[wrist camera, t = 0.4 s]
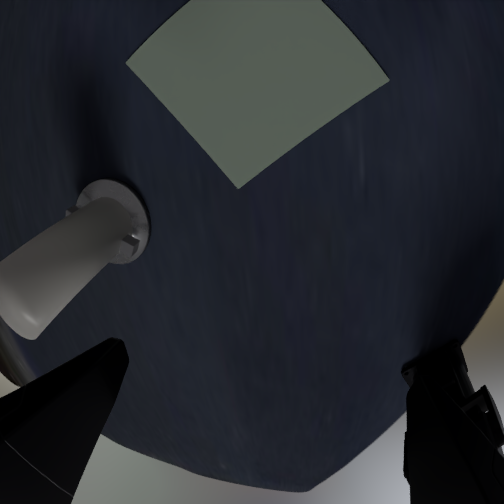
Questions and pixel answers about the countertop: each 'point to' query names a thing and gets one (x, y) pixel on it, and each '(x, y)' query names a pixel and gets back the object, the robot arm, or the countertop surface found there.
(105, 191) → the grey shallow disc
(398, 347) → the countertop surface
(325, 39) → the mat
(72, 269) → the grey rounded post
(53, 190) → the countertop surface
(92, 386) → the robot arm
